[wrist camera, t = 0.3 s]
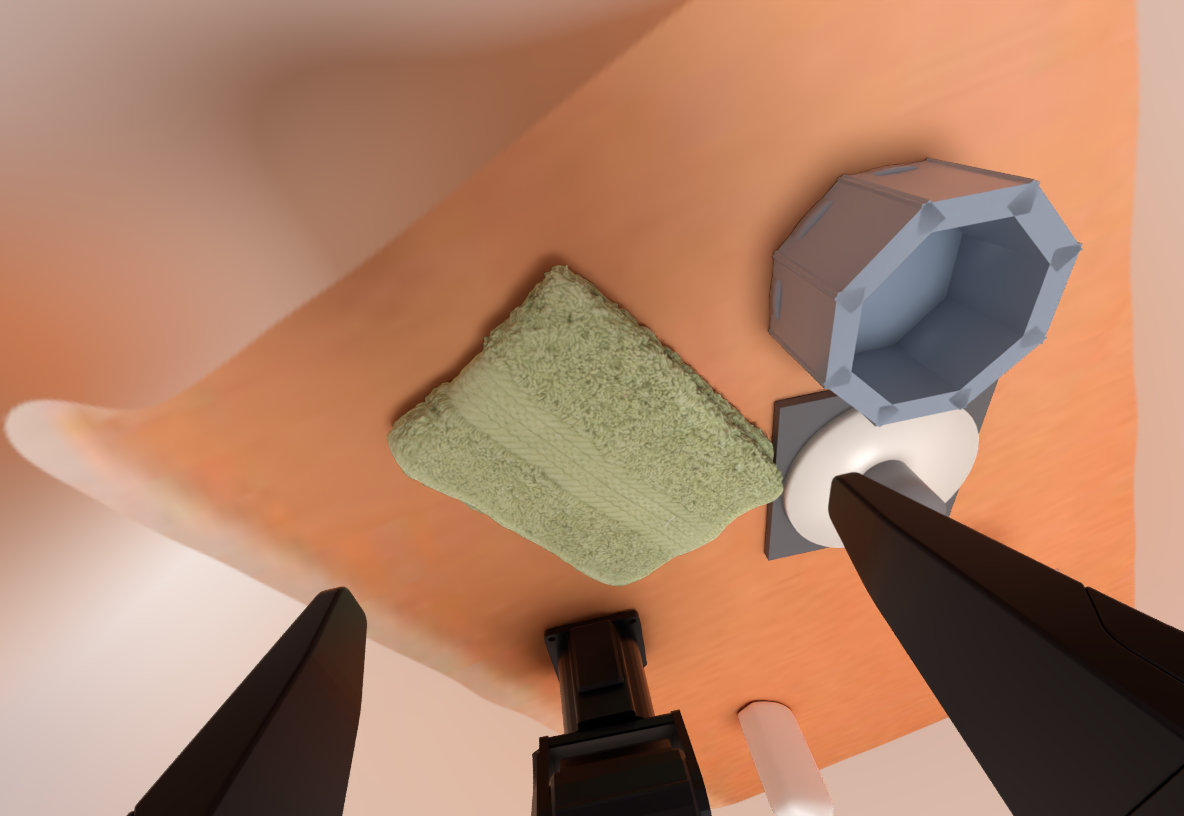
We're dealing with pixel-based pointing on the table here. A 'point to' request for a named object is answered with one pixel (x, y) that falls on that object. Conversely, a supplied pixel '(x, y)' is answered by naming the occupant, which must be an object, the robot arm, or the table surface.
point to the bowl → (919, 285)
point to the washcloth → (588, 438)
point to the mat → (792, 432)
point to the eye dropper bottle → (784, 761)
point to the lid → (879, 464)
